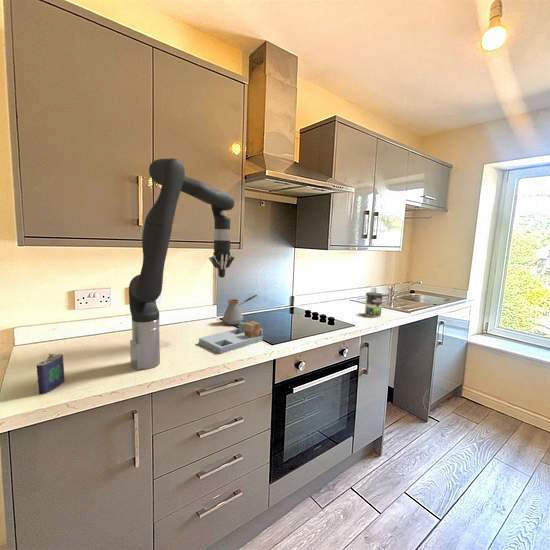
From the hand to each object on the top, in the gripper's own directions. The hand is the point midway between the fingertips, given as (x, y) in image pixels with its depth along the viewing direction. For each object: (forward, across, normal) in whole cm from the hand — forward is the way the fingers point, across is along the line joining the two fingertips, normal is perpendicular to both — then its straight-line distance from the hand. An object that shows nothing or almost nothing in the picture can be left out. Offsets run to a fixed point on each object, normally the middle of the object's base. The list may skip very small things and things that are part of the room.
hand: (221, 277), depth 139 cm
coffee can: (+29, +100, -28) cm, 108 cm away
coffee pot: (+29, +24, +14) cm, 40 cm away
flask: (+29, -66, -3) cm, 72 cm away
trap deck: (+29, 0, -8) cm, 30 cm away
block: (+26, +8, -13) cm, 31 cm away
